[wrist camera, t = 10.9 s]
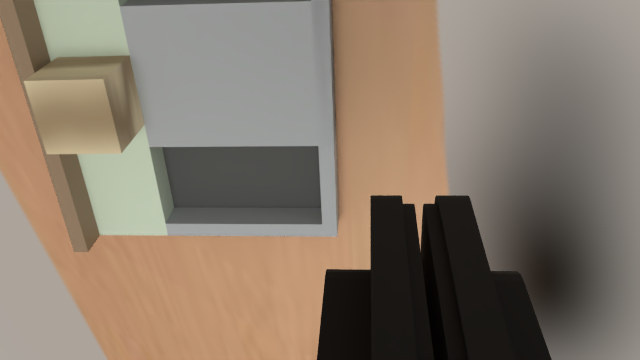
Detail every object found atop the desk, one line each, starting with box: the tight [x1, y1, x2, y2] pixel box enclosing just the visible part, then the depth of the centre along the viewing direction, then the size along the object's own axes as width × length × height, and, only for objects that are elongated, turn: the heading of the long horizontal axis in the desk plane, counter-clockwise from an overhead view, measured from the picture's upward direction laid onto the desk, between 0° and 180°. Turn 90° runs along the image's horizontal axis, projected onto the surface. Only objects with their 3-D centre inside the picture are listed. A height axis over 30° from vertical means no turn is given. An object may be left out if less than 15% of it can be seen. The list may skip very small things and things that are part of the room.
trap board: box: [0, 0, 339, 252], centre depth 36 cm, size 23×18×4 cm
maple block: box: [24, 56, 145, 154], centre depth 34 cm, size 4×4×4 cm
